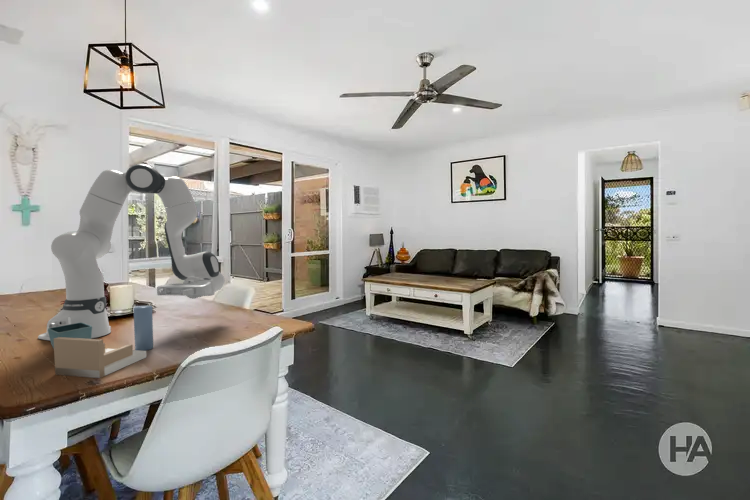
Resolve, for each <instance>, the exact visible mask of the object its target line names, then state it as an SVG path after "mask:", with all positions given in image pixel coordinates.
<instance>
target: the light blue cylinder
mask: <svg viewBox="0 0 750 500" xmlns="http://www.w3.org/2000/svg"><path fill="white" fill-rule="evenodd" d="M153 318H154V317H153V305H138V306H135V307H133V333H134V350H140V351H146V352H147V351H150V350H152V349H154V325H153V324H154V322H153Z"/></svg>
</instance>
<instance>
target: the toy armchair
mask: <svg viewBox="0 0 750 500" xmlns="http://www.w3.org/2000/svg"><path fill="white" fill-rule="evenodd" d="M53 355H54V374H55V375H56V376H68V377H81V378H82V377H83V378H96V379H100V378H103V377H105V376H107V375H109V374H112V373H114V372H116V371H119V370H121V369H123V368H125V367H128V366H129V365H132V364H134V363H137V362H139V361H141V360H143V359H145V358H146V359H147V351H140V350H135V349H133V344H125V345H123V346H121V347H117V348H109V347H108V348H106V342H104V339H100V338H99V339H98V338H91V339H85V338H67V337H58V338H54V348H53Z"/></svg>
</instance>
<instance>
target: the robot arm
mask: <svg viewBox="0 0 750 500" xmlns="http://www.w3.org/2000/svg"><path fill="white" fill-rule="evenodd" d="M132 192H137V193H139V194H145V195H146V194H156V195H157V196H158V197H159V198H160V200H161V202H162V205H163V207H164V209H165V213H166V221H165V223H164V233H165V238H166V242H167V247H168V251H169V256H170V259H171V268H172V273H173V275H174V276H175V277H176V278H178V279H180V280H182V281H183V282H182V283H167V284H162V285H157V287H156V296H180V297H181V296H185V297H187V298H189V299H198V298H203V297H209V296H210V297H211V296H215V294H216V293H217V292H218V291H220V290H221V289H223V287H224V285H225V281H226V280H225V279H226V278H225V276H224V274H223V273H221V271H220V262H219V259H218V257H217V256H216V255H215V254H214V253H212V251H211V252H210V251H208V250H207V251H202V252H198V253H195V254H189V255H187V254H186V251H185V248H184V243H183V240H182V239H183V238H182V234H183V232H184V231H185V230H186V229H187V228H188V227H189V226H191V225H192V224H193V223H194V222H195V221H196V219H197V217H198V208H197V205H196V203H195V200H194V196H193V195H192V192H191V190H190V189H189V187H188V185H187V183H186V182H185V181H184V180H183V178H181V177H178V176H168V177H167V176H166V177H165V176H163V175H162V174H161V173H160V172H159V171H158V169H157V168H155V167H154V166H152V165H150V164H146V163H137V164H134V165H131V166H130V167H129V168H127V170H126V172H121V171H119V170H115V169H105V170H103V171H101V173H100V174H99V175H98V176H97V178H95V180H94V182H93V183H92V185H91V186H90V189H89V191H88V192H87V194H86V197H85V199H84V200H83V203H82V205H81V207H80V209H79V215H80V221H79V226H78V229H77V231H68V232H64V233H62V234H59V235H57V236H56V237H55V238H54V239H53V240H52V242H51V245H50V248H51V252H52V254H53V255H54V256H55V258H56V259H57V260H58V262H59V263H60V264H59V265H60V267H61V270H62V272H63V276H64V280H65V283H64V284H65V297H66V298H65V299H64V300H61V301H60V305H63V306H62V307H61V308H62V310H60V311H59V312H58V313H56V315H54V316H53V317H51V318H50V319H49V320H48V321H47V324H46V331H45V332H44V333H40V334H38V336H37V339H39V340H44V341H50V337H49V333H48V328H53V327H59V326H64V325H69V324H75V323H80V322H81V323H85V324H87V325H91V326H92V335H91V339H97V338H99V337H104V336H106V335H109V334H110V333H111V332H112V330H111V329H112V326H111V325H110V323H109V318H108V317H109V316H108V310H107V308H106V306H107V297H106V296H105V286H104V285H105V283H104V280H105V279H104V275H103V273H102V272H101V271H100V267H99V265H98V261H97V260H98V259H100V258H102V257H104V256H106V254H108V253H109V252H110V250H111V247H112V244H111V239H112V236H113V231H114V227H115V223H116V221H117V218H118V217H119V214H120V212H121V210H122V208H123V205H124V203H125V202H126V200H127V198H128V196H129V194H131V193H132Z"/></svg>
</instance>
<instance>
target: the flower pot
mask: <svg viewBox="0 0 750 500" xmlns="http://www.w3.org/2000/svg"><path fill="white" fill-rule="evenodd" d="M48 333H49V337H50V340H49V341H50V344H51V347H52V349H54V338H58V337H67V338H85V339H92V338H91V335H92V326H91V325H87V324H85V323H81V322H80V323H75V324H69V325H64V326H59V327H53V328H48Z"/></svg>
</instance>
